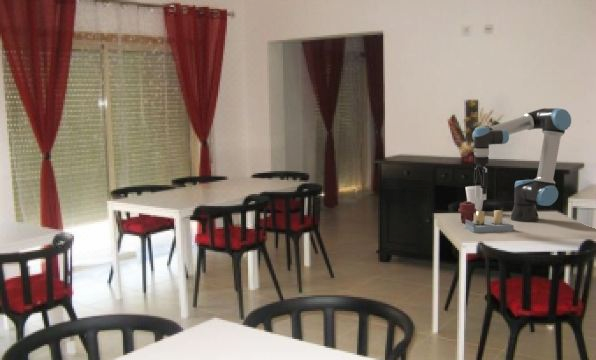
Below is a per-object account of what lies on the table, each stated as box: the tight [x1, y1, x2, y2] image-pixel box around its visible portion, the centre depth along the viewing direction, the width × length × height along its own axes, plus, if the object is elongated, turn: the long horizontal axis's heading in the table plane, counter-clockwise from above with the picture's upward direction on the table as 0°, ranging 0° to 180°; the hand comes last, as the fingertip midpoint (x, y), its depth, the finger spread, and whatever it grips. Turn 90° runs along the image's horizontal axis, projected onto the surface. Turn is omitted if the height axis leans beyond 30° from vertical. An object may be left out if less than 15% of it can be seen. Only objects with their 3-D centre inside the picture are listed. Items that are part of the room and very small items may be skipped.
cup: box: [465, 185, 484, 215], centre depth 386 cm, size 12×12×16 cm
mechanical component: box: [457, 200, 476, 224], centre depth 356 cm, size 12×10×10 cm
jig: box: [464, 209, 514, 234], centre depth 338 cm, size 22×12×10 cm, turn 96°
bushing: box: [475, 210, 486, 226], centre depth 338 cm, size 4×4×10 cm
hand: (480, 198), depth 336 cm, fingers open, 7 cm apart
